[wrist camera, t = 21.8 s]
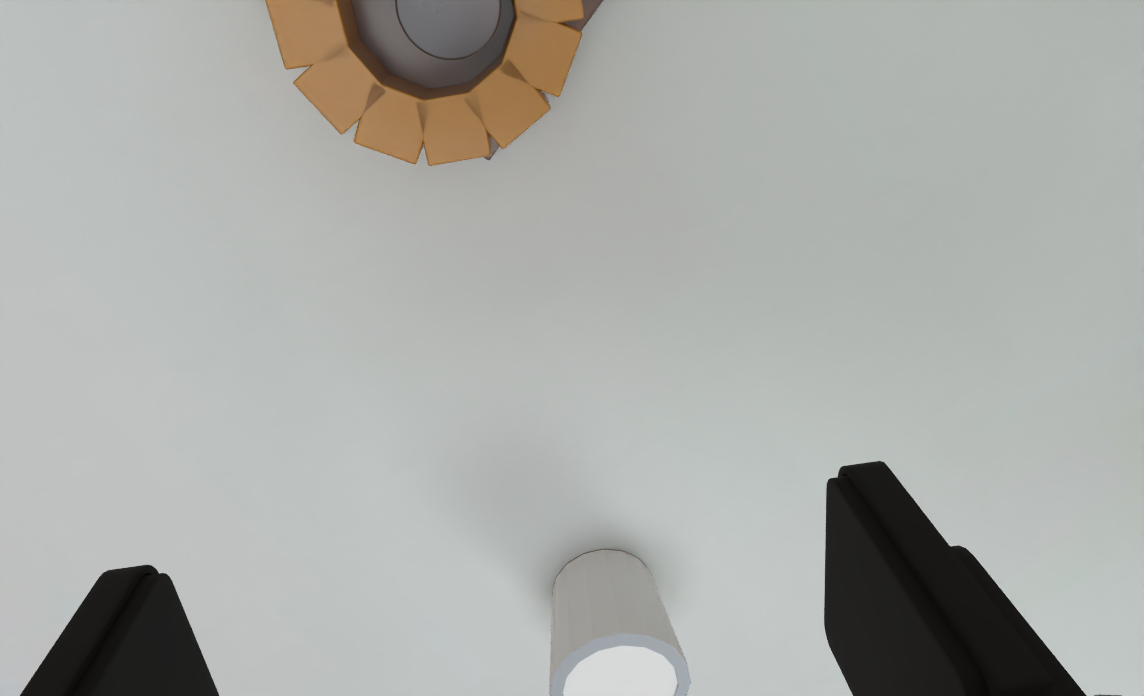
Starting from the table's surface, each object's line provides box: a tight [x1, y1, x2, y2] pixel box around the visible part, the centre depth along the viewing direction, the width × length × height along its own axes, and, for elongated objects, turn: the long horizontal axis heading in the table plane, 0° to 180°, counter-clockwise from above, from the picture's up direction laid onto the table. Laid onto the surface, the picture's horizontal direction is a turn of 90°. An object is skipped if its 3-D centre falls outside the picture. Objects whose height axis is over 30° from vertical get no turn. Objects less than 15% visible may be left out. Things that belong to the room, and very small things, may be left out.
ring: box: [265, 0, 584, 166], centre depth 30 cm, size 11×11×3 cm
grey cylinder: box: [549, 549, 691, 696], centre depth 42 cm, size 7×7×7 cm
